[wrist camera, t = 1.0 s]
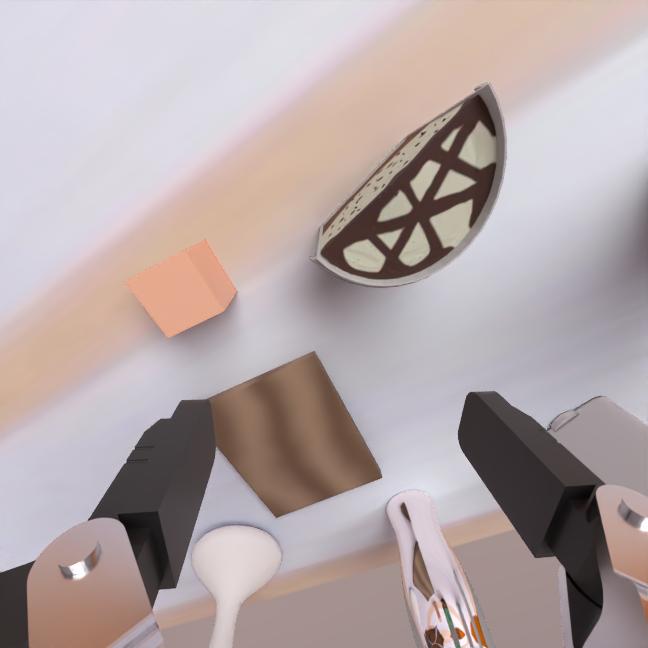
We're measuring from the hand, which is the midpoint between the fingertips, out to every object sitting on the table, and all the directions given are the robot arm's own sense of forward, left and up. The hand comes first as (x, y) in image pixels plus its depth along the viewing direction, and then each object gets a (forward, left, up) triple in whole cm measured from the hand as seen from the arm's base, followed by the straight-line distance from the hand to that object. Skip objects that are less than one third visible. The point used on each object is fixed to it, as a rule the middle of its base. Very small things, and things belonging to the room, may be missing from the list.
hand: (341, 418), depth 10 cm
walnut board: (+11, +16, -19) cm, 27 cm away
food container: (-7, -2, -19) cm, 21 cm away
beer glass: (+3, +33, -19) cm, 38 cm away
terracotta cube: (+10, -4, -19) cm, 22 cm away
